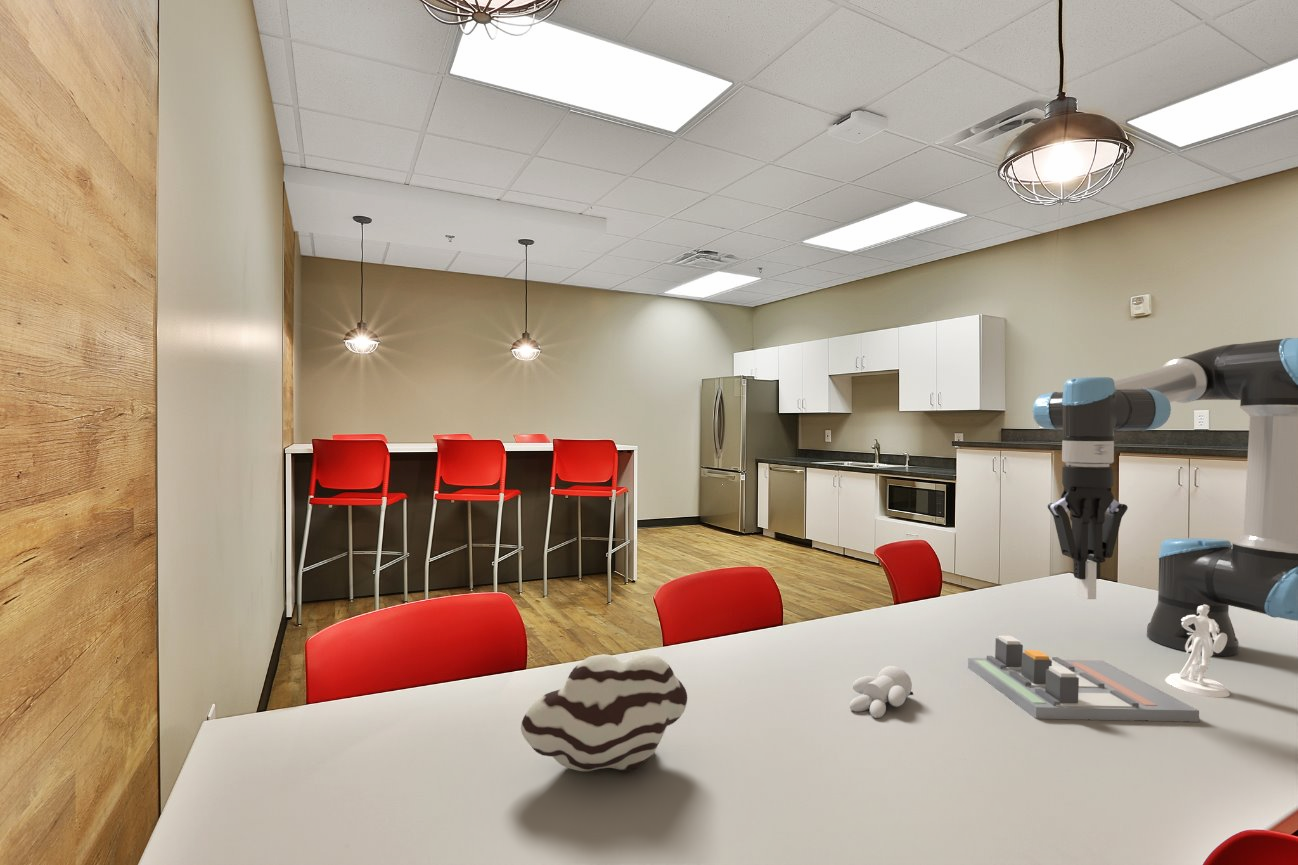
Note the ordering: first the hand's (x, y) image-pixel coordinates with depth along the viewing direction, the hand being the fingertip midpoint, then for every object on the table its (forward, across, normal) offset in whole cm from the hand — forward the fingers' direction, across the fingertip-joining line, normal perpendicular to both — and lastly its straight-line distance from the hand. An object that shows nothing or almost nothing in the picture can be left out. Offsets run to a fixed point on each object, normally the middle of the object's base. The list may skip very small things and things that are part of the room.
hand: (1086, 596), depth 111 cm
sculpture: (+14, -84, -29) cm, 90 cm away
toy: (+16, -39, -7) cm, 43 cm away
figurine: (+17, +21, +2) cm, 27 cm away
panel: (+16, -4, -2) cm, 17 cm away
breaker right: (+14, -11, -9) cm, 20 cm away
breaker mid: (+14, -10, -2) cm, 17 cm away
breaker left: (+14, -11, +6) cm, 18 cm away
